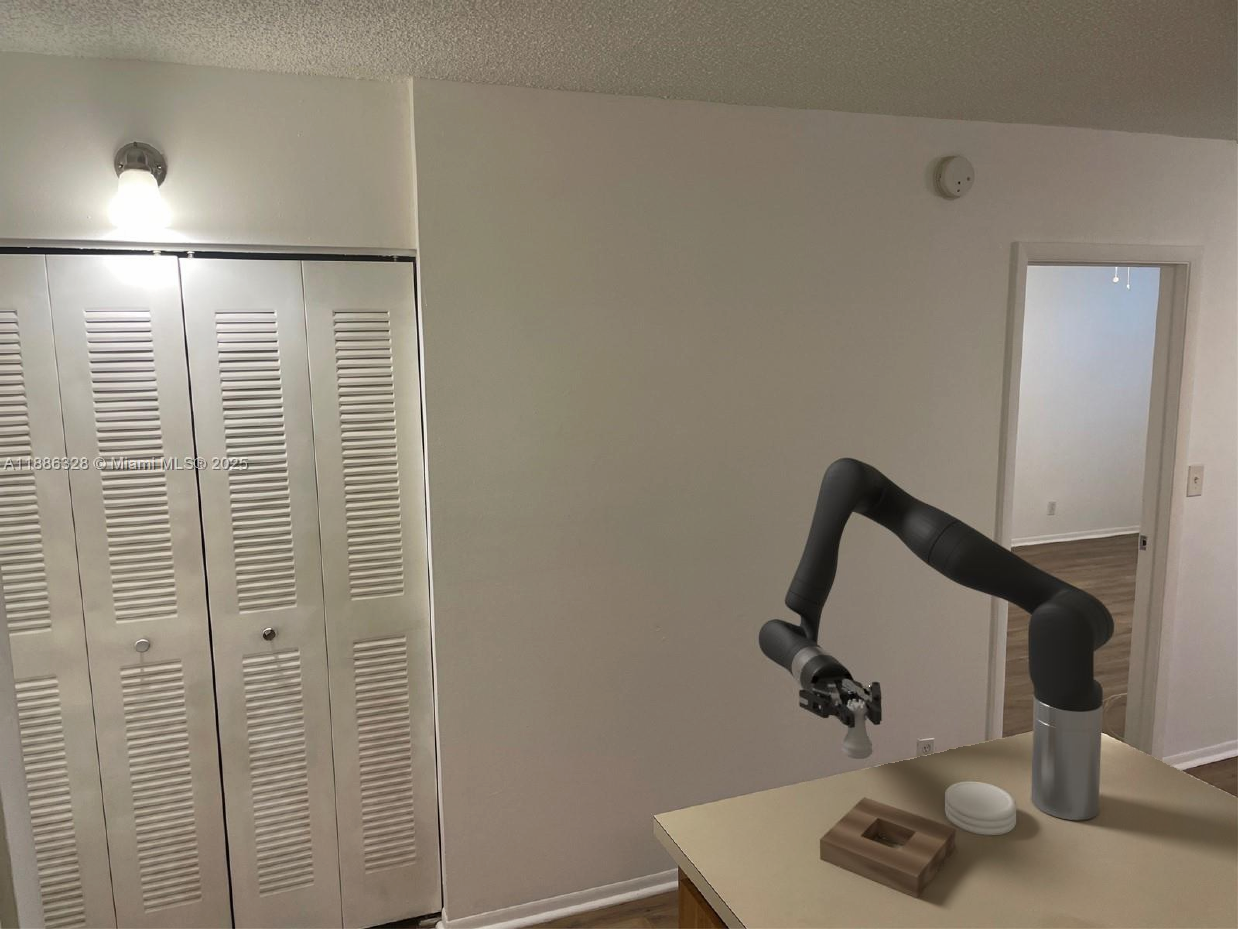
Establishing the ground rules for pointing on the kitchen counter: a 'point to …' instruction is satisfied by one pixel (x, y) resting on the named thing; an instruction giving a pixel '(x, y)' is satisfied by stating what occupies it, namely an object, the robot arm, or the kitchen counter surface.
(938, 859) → the socket block
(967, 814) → the coaster
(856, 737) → the rook chess piece
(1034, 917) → the kitchen counter surface
